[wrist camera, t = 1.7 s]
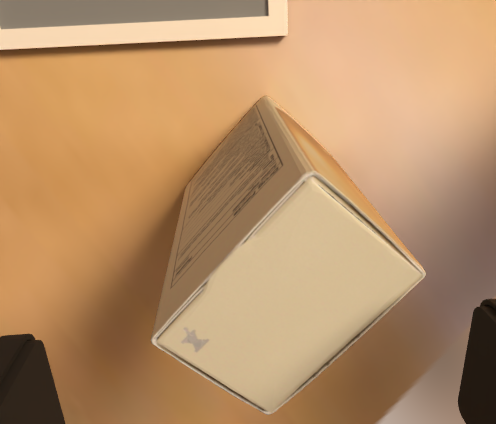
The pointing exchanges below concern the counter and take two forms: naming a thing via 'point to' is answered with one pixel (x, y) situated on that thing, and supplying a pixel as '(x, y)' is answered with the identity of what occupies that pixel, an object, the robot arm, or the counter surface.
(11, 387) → the robot arm
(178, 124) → the counter surface
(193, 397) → the counter surface
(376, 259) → the skincare box
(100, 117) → the counter surface
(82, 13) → the white picture frame
